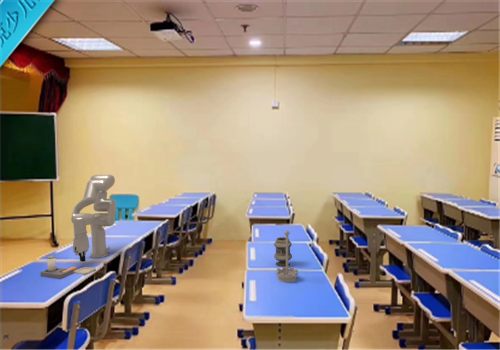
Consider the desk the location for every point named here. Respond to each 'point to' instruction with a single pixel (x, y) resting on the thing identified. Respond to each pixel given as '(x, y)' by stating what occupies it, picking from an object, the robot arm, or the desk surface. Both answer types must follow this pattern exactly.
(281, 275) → the flag stand
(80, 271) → the tray
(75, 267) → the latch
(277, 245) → the apothecary jar
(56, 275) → the grey holder base
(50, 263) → the cylinder
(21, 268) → the desk surface
